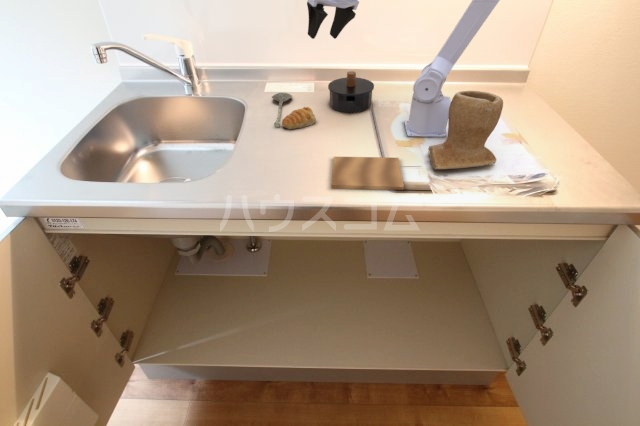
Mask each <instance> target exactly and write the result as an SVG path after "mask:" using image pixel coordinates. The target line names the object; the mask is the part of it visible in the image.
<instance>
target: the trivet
mask: <svg viewBox="0 0 640 426" xmlns="http://www.w3.org/2000/svg"><path fill="white" fill-rule="evenodd" d="M332 161H333V163H332V172H331V182H330V188H331V189H337V190H339V189H342V190H344V189H345V190H375V191H376V190H377V191H378V190H382V191H404V189H405V185H404V180H403V175H402V174H403V173H402V169H401V163H400V157H384V156H383V157H377V156H333V160H332Z"/></svg>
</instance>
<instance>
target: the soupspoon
mask: <svg viewBox="0 0 640 426" xmlns="http://www.w3.org/2000/svg"><path fill="white" fill-rule="evenodd" d="M271 98H272V99H273V100H275V101H277V102H279V103H278V111H277V117H276V119H275V122H274V123H273V126H274V127H275V128H280V127H281V122H280V121H281V113H282V107H283V103H284V102H287V101H289V100H290V99H291V98H293V95H292V94H290V93H288V92H277V93H275V94H273V95H272V96H271Z"/></svg>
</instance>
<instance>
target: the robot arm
mask: <svg viewBox="0 0 640 426" xmlns="http://www.w3.org/2000/svg"><path fill="white" fill-rule="evenodd" d="M500 1H501V0H471V2H470V3H469V4H468V6H467V8H466V10H465V11H464V13H463V14H462V15H461V18H460V19H459V20H458V21H457V23H456V25H455V26H454V28H453V30H452V31H451V33H449V36H448V37H447V39H446V40H445V42H444V44H442V47H441V48H440V50H439V51H438V53H437V54H436V56H435V57H434V59H433V60H432V61H431V62H430V63H429V64H427V65H426V66H424V68H423V69H422V70H421V73H420V75H419V76H418V78H417V79H416V80H415V81H414V84H413V87H412V91H413V92H412V97H411V103H410V109H409V115H408V120H405V121H404V127H405V131H406V136H407V137H423V138H425V137H427V138H431V137H432V138H442V137H443V138H445V137H446V131H447V128H448V122H449V116H448V114H449V107H450V103H451V101H452V99H451V97H449V96H444V94H443V92H442V89H443V87H444V85H445V83H446V81H447V78H448V76H449V75H450V73H451V71H452V70H453V68H454V66H455V64H456V63H457V62H458V60H459V59H460V57H461V56H462V55H463V53H464V52H465V50H466V49H467V47H468V46H469V45H470V44H471V42H472V40H473V39H474V38H475V36H476V35H477V34H478V32H479V31H480V29H481V27H483V25H484V23H485V22H486V21H487V19H488V18H489V16H490V15H491V14H492V12H493V11H494V9H495V8H496V6H497V5H498V4H499V2H500ZM359 4H360V1H359V0H307V1H306V5H307V12H308V24H307V25H308V27H307V35H308V36H309V37H310V38H311V39H312V40H314V39H315V38H316V36H317V35H318V32H319V30H320V28H321V26H322V24H323V22H324V20H325V19H326V18H327V17H328V16H329V14H328V12H327V11H325V8H324V7H330V8H331V7H333V8H335V9H334V10H335V11H334V16H333V20H332V23H331V26H330V30H329V35H330V37H332V38H333V39H335V40H336V39H337V38H338V37H339V35H340V34H341V32H342V31H343V29H344V28H345V27H346V26H347V25H348V24H349V23H350V22H352V20H353V19H355V18H356V12H355V11H357V9H358V7H359Z"/></svg>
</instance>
